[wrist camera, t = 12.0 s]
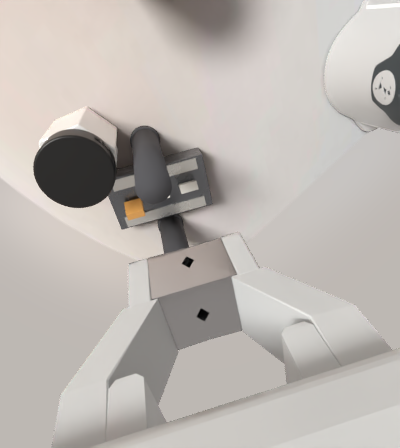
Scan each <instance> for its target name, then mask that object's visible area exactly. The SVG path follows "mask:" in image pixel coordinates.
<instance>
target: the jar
mask: <svg viewBox="0 0 400 448" xmlns="http://www.w3.org/2000/svg"><path fill="white" fill-rule="evenodd" d="M116 144H117V127H115V126H114V125H112V124H111V123H110V122H108V121H107V120H105V119H104V118H102V117H101V116H100V115H98V114H97V113H95V112H94V111H92V110H91V109H90V108H88V107H84V108H81V109H79V110H77V111H75V112H72V113H70V114H68V115H65V116H63V117H61V118H58V119H56V120H54V122H53V123H52V124H51V126H50V127H49V129H48V130H47V131H46V133H45V134H44V135H43V137H42V138H41V139H40V141H39V151H38V152H37V154H36V156H35V160H34V166H33V168H34V176H35V179H36V182H37V184H38V185H39V187H40V189H41V190H42V191H43V192H44V193H45V194H46V195H47V196H48V197H49V198H50V199H52V200H53V201H55V202H57V203H59V204H61V205H64V206H68V207H73V208H84V207H90V206H93V205H95V204H98V203H99V202H101V201H102V200H104V199H105V198H106V197H107V196H108V195H109V193H110V192H111V190H112V189H113V186H114V183H115V180H116V174H117V168H116V166H117V147H116Z"/></svg>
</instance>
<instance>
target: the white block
mask: <svg viewBox="0 0 400 448" xmlns="http://www.w3.org/2000/svg"><path fill="white" fill-rule="evenodd" d="M178 185H179V188H180V192H181V194H184V193H188V192H191V191H195V190H198V185H197V181H196V180H192V181H188V182H185V183H181V184H178Z"/></svg>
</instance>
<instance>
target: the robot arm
mask: <svg viewBox="0 0 400 448" xmlns="http://www.w3.org/2000/svg"><path fill="white" fill-rule="evenodd" d="M324 84H325V90H326V94H327V97H328V99H329V101H330V103H331V104H332V106H333V107H334V108H335V109H336V110H337V111H338V112H340V113H341V114H343V115H345V116H347V117H350V118H352V119H353V120H354V121H355V123H356V124H357V126H358V127H359V128H360V129H361V130H363V131H367V132H370V131H373V130H375V129H377V128H381V129H385V130H389V131H392V132H397V133H400V0H364V1H363V3H362V5H361V7H360V9H359V11H358V12H357V13H356V14H355V16H354V17H353V18H352V19H351V20H350V21H349V22H348V23H347V24H346V25H345V26H344V27H343V29H342V30H341V31H340V33H339V34H338V36H337V37H336V39H335V41H334V43H333V44H332V47H331V49H330V51H329V54H328V57H327V61H326V65H325V72H324ZM242 330H243V332H244V333H245V334H246V335H248V336H249V337H250V338H252V339H253V340H254V341H255V342H257V343H258V344H259V345H261V346H262V347H264V348H265V349H266V350H267V351H269V352H270V353H271V354H273V355H274V356H275V357H276V358H278V359H279V360H280V361H281V362H283V363H284V364H285V372H286V382H287V384H286V385H283V386H280V387H277V388H274V389H271V390H267V391H265V392H261V393H258V394H255V395H252V396H249V397H246V398H242V399H239V400H236V401H233V402H230V403H227V404H224V405H220V406H218V407H214V408H211V409H208V410H205V411H202V412H199V413H196V414H192V415H189V416H186V417H183V418H180V419H177V420H174V421H170V422H166V420H165V418H164V416H163V414H162V412H161V410H160V408H159V406H158V405H159V402H160V399H161V397H162V394H163V392H164V389H165V386H166V384H167V381H168V378H169V376H170V373H171V370H172V368H173V365H174V363H175V360H176V357H177V355H178V350H180V349H183V348H186V347H189V346H192V345H195V344H198V343H201V342H203V341H207V340H209V339H213V338H217V337H220V336H224V335H228V334H231V333H235V332H238V331H242ZM52 448H400V348H398V349H395V350H392V349H391V348H390V346H389V345H388V344H387V343H386V342H385V340H384V339H383V338H382V337H381V336H380V334H379V333H378V332H377V331H376V330H375V329H374V327H373V326H372V325H371V324H370V322H369V321H368V320H367V319H366V318H365V316H364V315H363V314H362V313H361V312H360V310H359V309H358V308H357V307H356V306H355V304H352V303H350V302H348V301H345V300H343V299H340V298H338V297H336V296H333V295H331V294H329V293H326V292H324V291H322V290H319V289H317V288H315V287H312V286H310V285H308V284H305V283H303V282H300V281H298V280H296V279H293V278H291V277H289V276H286V275H284V274H282V273H279V272H277V271H274V270H272V269H270V268H268V267H262V268H260V267H259V266H258V264H257V262H256V260H255V259H254V257H253V255H252V253H251V252H250V250H249V248H248V246H247V245H246V243H245V241H244V239H243V238H242V236H241V234H240V233H239V232H235V233H232V234H229V235H226V236H223V237H220V238H218V239H215V240H212V241H208V242H205V243H202V244H198V245H195V246H192V247H189V248H185V249H180V250H176V251H172V252H169V253H165V254H161V255H158V256H154V257H150V258H148V259H143V260H139V261H136V262H133V263H129V265H128V307H127V308H125V309H122V310H121V312H120V313H119V315H118V316H117V317H116V319H115V320H114V322H113V323H112V324H111V326H110V327H109V328H108V330H107V331H106V333H105V334H104V336H103V337H102V338H101V340H100V341H99V343H98V344H97V345H96V347H95V348H94V350H93V351H92V352H91V354H90V355H89V356H88V358H87V359H86V360H85V362H84V363H83V365H82V366H81V367H80V369H79V370H78V372H77V373H76V374H75V376H74V377H73V378H72V380H71V381H70V383H69V384H68V385H67V387H66V388H65V390H64V391H63V392H62V394H61V396H60V402H59V408H58V413H57V419H56V425H55V430H54V436H53V442H52Z"/></svg>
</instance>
